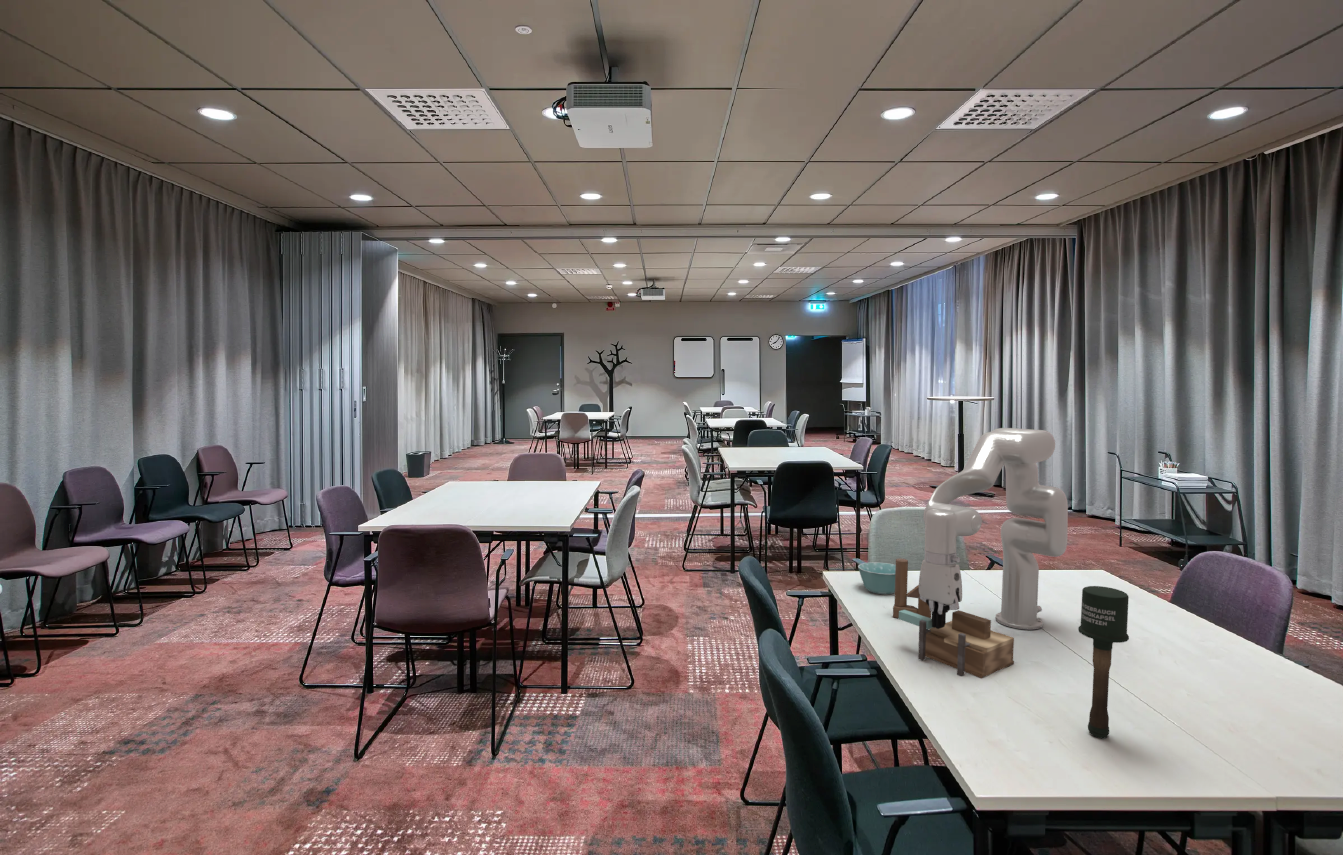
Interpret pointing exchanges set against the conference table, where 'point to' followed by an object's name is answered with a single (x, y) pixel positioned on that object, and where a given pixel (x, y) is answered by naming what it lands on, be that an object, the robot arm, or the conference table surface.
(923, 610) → the brown wooden block structure
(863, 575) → the bowl
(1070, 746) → the conference table surface
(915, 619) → the teal rectangular bar
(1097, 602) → the stick grenade
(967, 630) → the lid
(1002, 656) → the wooden box
